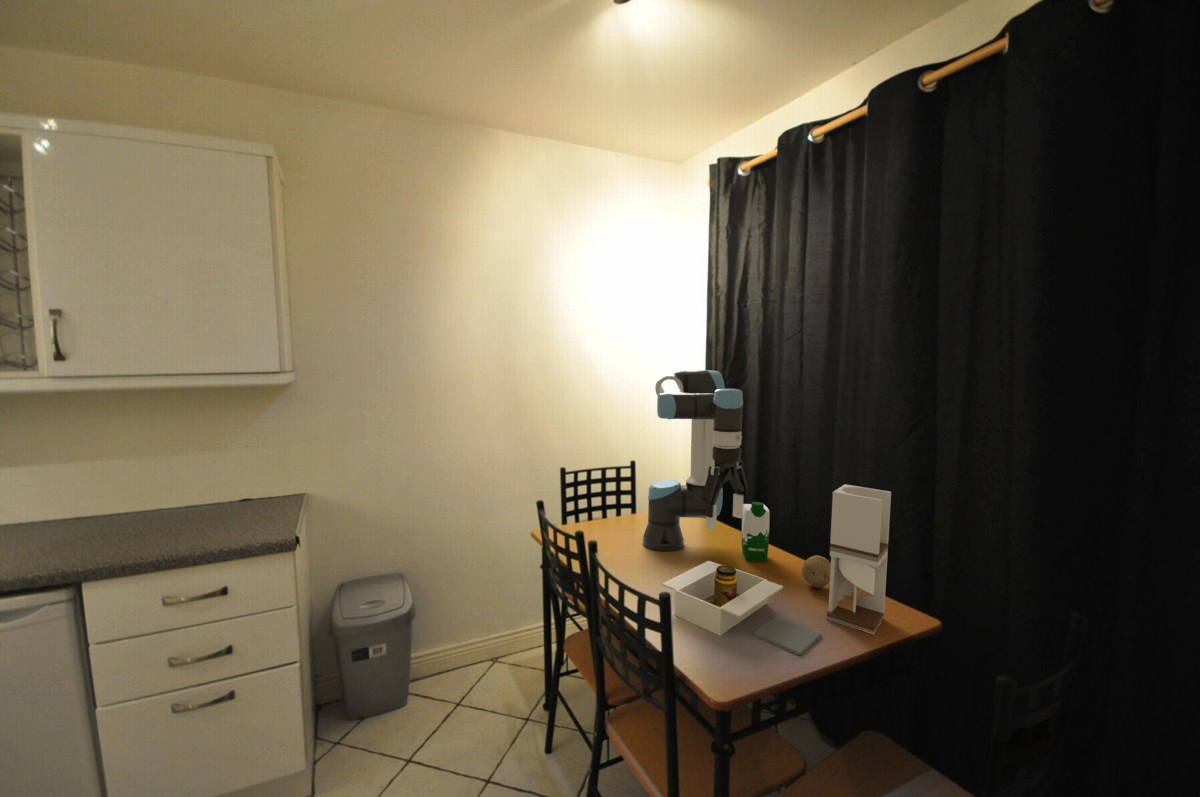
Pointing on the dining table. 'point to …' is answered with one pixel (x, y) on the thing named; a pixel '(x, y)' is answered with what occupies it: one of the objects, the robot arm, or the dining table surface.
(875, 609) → the white cereal dispenser
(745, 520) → the milk carton
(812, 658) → the dining table surface
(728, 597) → the condiment
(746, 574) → the carton
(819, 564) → the natural sponge
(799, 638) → the slate mat
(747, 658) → the dining table surface
